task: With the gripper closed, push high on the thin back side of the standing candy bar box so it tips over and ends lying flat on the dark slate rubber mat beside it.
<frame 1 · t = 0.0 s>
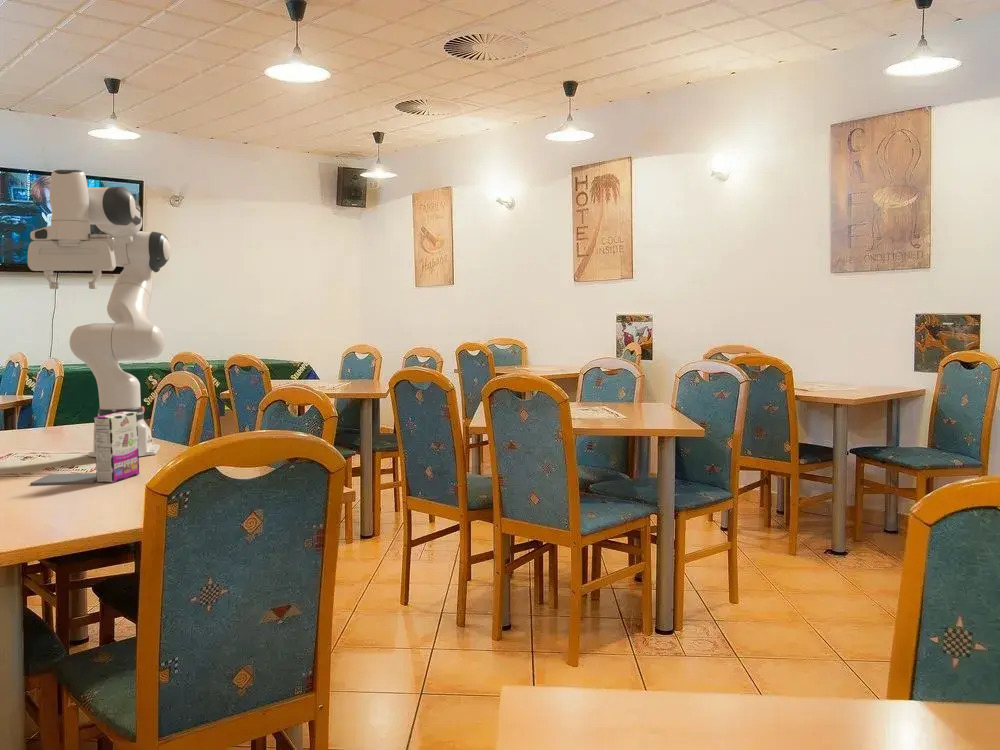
hand: (73, 288, 208), 48 cm above the table, fingers open, 8 cm apart
candy bar box: (117, 479, 208), on the table
slate mat: (70, 479, 207), on the table
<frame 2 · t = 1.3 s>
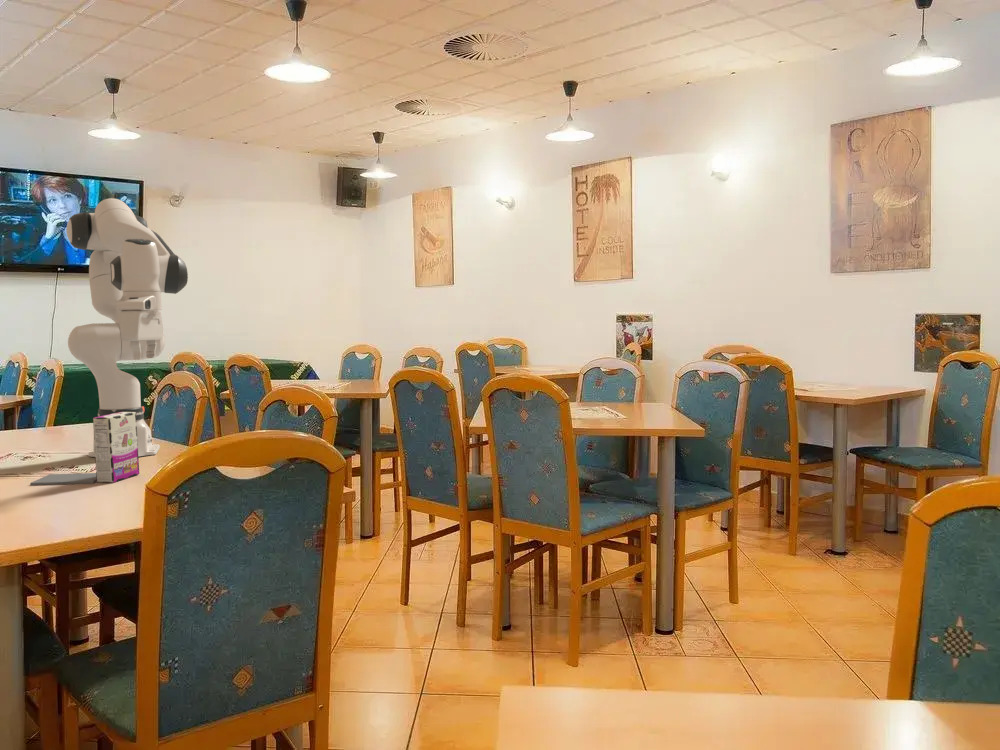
hand: (144, 358, 206), 30 cm above the table, fingers open, 8 cm apart
nothing on the table moved.
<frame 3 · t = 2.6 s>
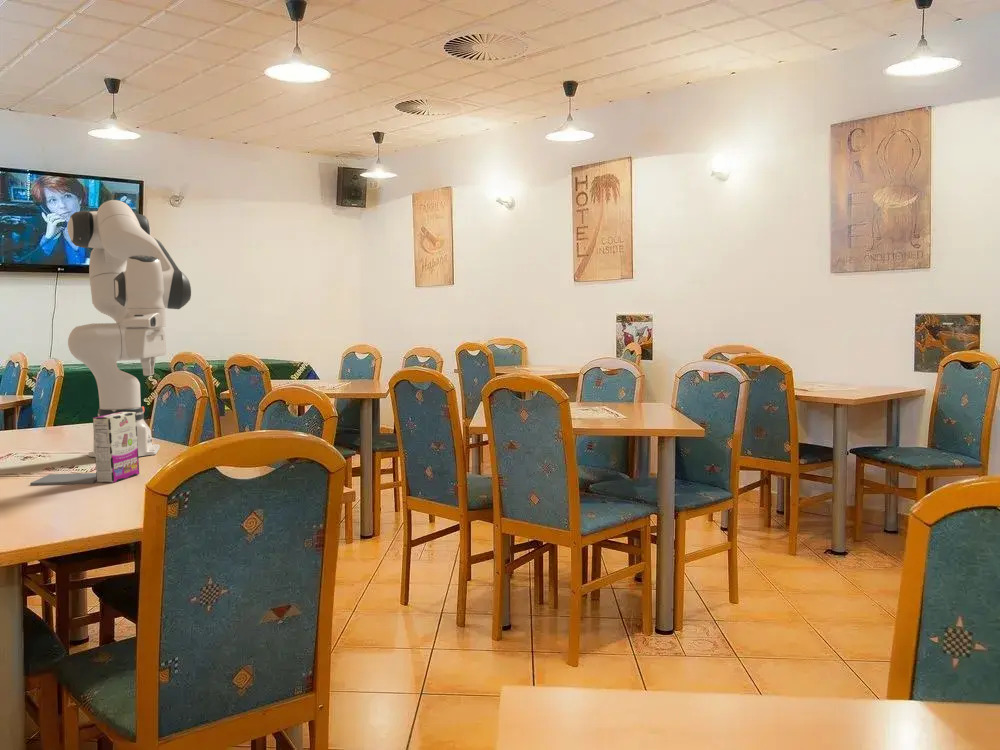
hand: (148, 375, 207), 26 cm above the table, fingers closed
nothing on the table moved.
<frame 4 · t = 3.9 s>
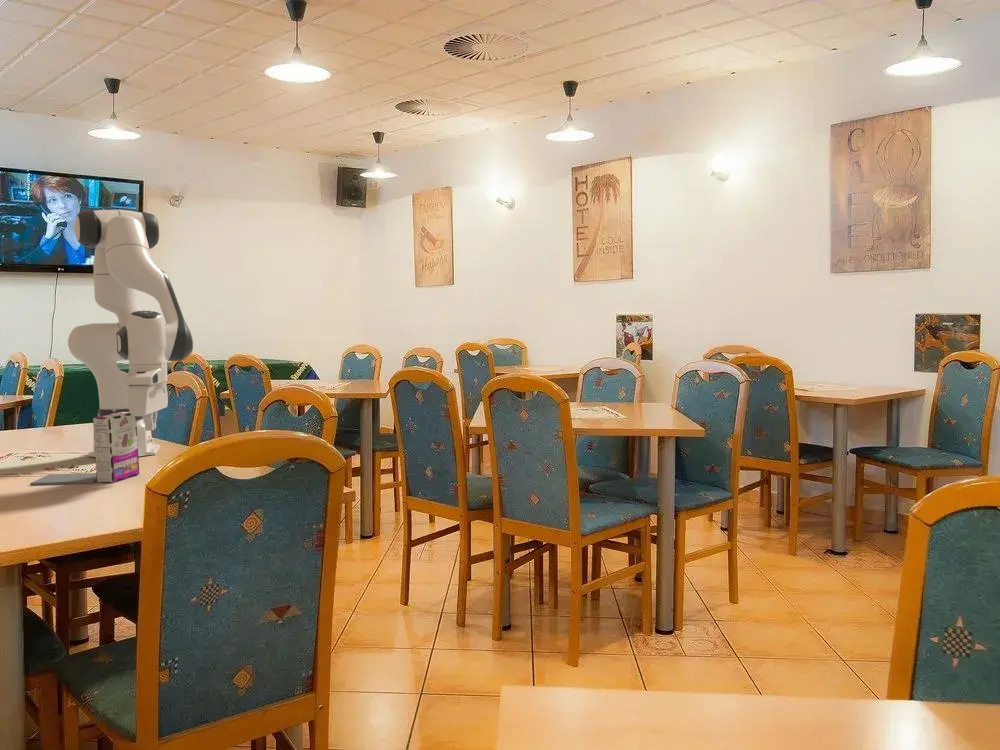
hand: (150, 429, 208), 12 cm above the table, fingers closed
nothing on the table moved.
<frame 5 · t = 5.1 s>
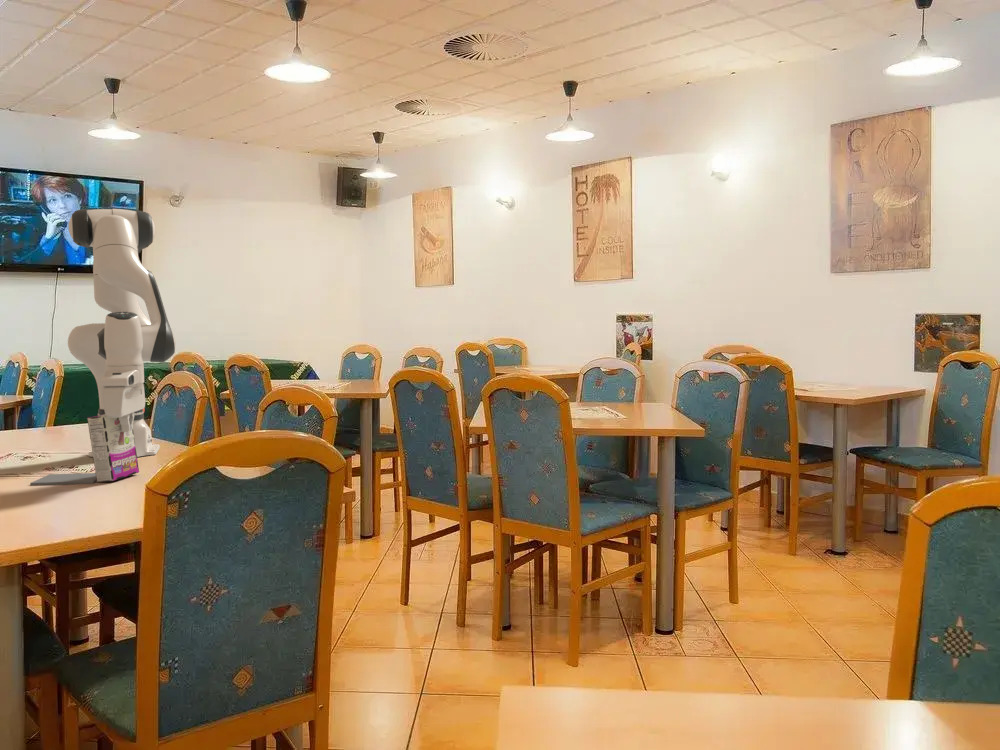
hand: (127, 431, 207), 12 cm above the table, fingers closed
candy bar box: (118, 478, 208), on the table, touching gripper
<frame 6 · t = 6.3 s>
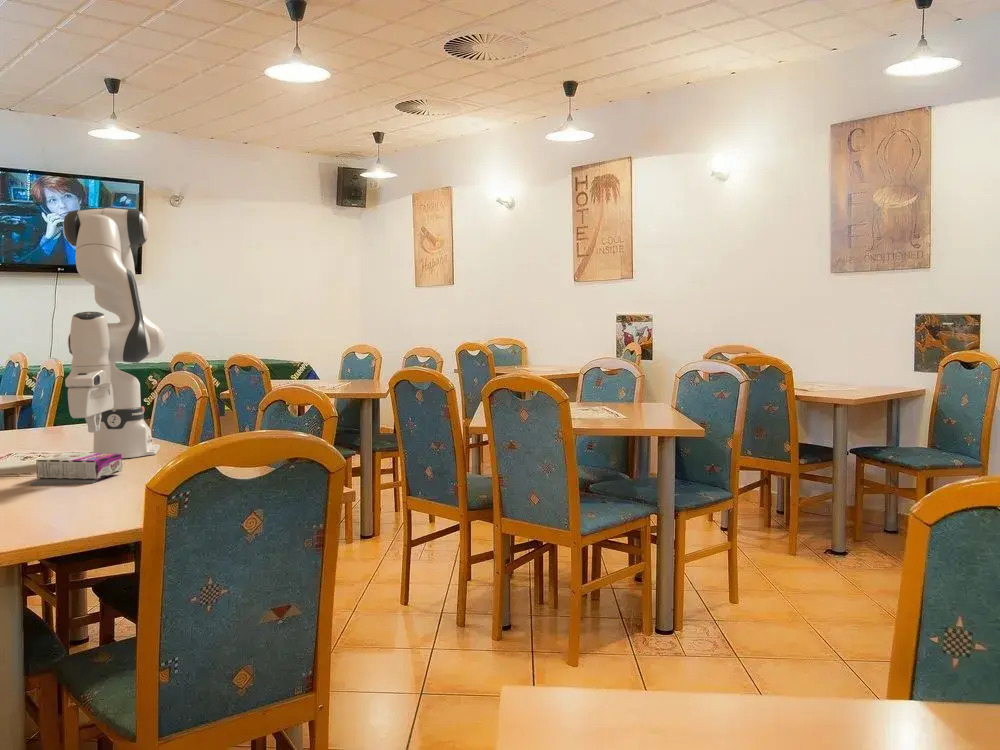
hand: (94, 431, 206), 12 cm above the table, fingers closed
candy bar box: (110, 466, 208), point 3 cm above the table, touching slate mat
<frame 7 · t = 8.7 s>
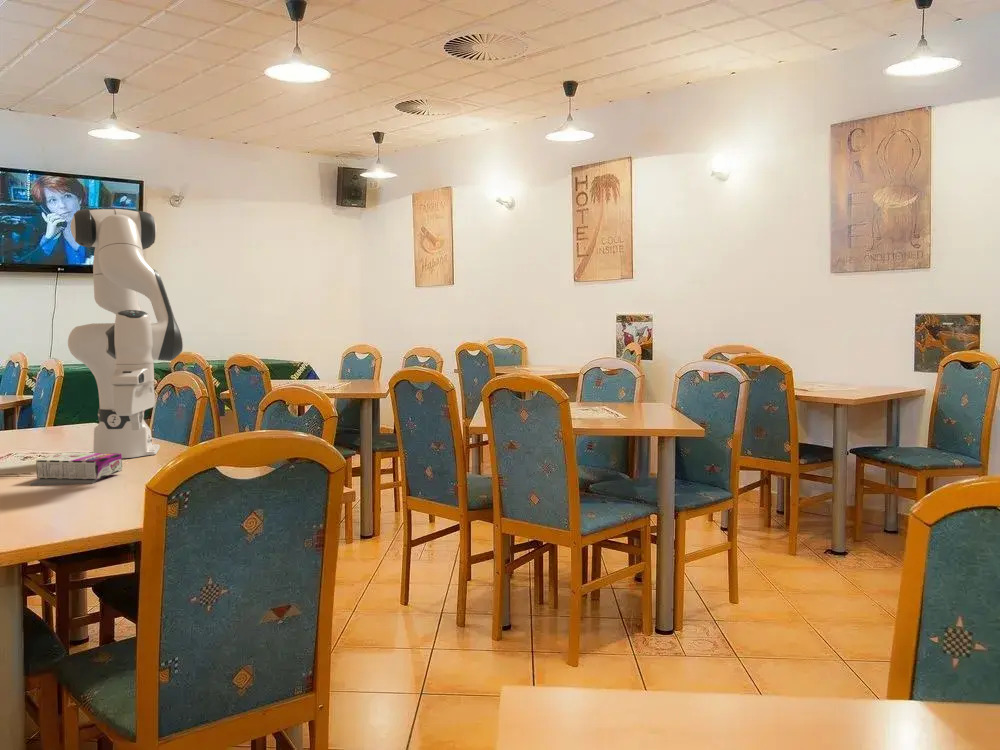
hand: (137, 429, 208), 12 cm above the table, fingers closed
nothing on the table moved.
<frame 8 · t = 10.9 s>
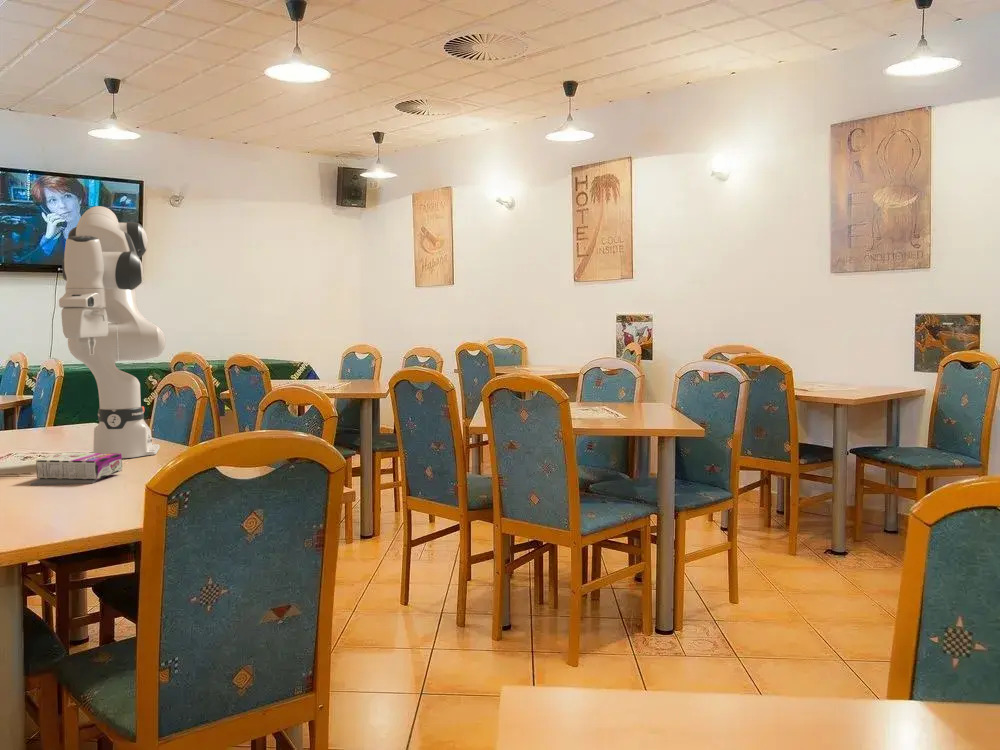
hand: (88, 355, 207), 31 cm above the table, fingers closed
nothing on the table moved.
at the end: candy bar box tilted 89°; candy bar box inside the target area (6.2 cm from its centre), point 3.0 cm above the table; candy bar box touching slate mat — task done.
